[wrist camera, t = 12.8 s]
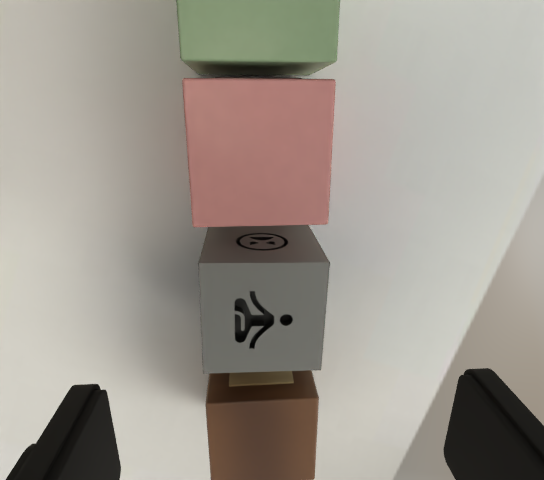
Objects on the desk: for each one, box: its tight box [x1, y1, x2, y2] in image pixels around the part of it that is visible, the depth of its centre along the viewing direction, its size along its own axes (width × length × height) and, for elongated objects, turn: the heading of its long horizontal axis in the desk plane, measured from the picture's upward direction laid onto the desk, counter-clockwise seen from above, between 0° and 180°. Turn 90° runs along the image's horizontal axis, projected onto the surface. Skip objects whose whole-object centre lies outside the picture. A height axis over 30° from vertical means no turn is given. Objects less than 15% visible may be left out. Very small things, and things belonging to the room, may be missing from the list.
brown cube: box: [206, 370, 319, 480], centre depth 20 cm, size 5×5×5 cm
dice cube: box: [198, 225, 330, 374], centre depth 17 cm, size 5×5×5 cm
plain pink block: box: [182, 77, 336, 227], centre depth 15 cm, size 5×5×5 cm
